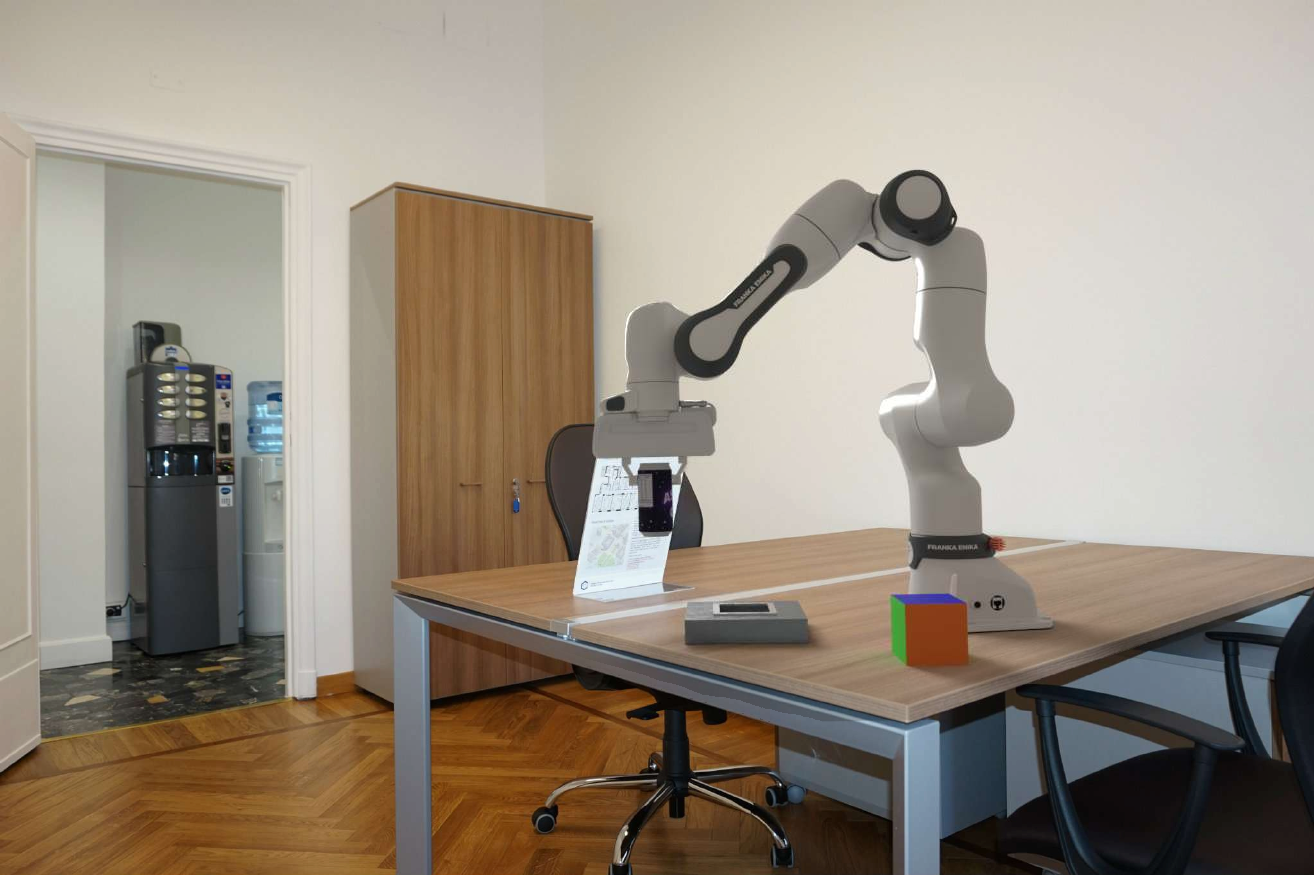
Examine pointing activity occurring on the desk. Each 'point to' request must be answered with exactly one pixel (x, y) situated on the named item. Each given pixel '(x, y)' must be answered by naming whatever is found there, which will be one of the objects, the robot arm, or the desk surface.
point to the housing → (745, 622)
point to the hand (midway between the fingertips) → (655, 485)
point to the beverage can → (655, 499)
